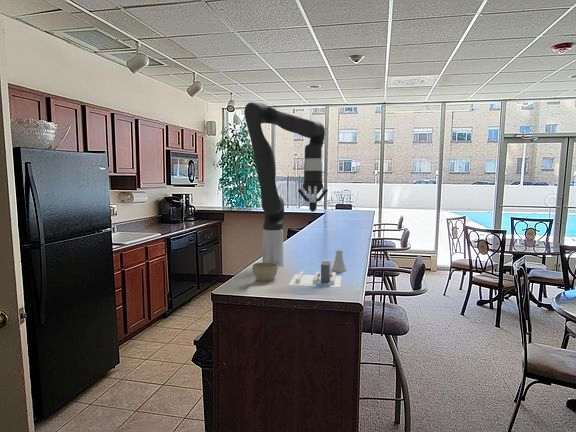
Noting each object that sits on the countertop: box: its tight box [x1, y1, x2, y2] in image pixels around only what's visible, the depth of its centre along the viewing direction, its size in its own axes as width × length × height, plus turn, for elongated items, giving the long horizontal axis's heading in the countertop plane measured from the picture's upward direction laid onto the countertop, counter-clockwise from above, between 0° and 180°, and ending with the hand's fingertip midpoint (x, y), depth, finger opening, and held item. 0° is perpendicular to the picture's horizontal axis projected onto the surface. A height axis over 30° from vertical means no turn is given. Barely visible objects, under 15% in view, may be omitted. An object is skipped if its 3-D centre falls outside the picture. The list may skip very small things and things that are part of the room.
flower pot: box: [252, 261, 279, 282], centre depth 155 cm, size 10×10×7 cm
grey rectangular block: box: [320, 259, 332, 283], centre depth 153 cm, size 3×9×7 cm, turn 170°
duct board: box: [288, 270, 342, 288], centre depth 153 cm, size 19×16×4 cm
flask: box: [330, 249, 348, 273], centre depth 169 cm, size 7×7×10 cm
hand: (312, 211), depth 166 cm, fingers closed
